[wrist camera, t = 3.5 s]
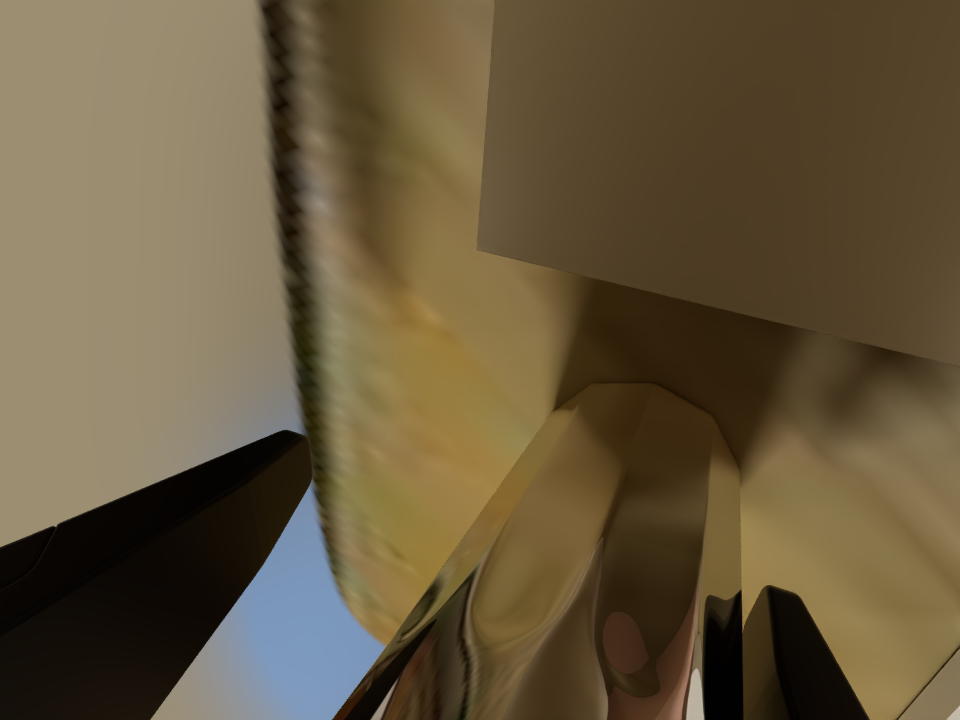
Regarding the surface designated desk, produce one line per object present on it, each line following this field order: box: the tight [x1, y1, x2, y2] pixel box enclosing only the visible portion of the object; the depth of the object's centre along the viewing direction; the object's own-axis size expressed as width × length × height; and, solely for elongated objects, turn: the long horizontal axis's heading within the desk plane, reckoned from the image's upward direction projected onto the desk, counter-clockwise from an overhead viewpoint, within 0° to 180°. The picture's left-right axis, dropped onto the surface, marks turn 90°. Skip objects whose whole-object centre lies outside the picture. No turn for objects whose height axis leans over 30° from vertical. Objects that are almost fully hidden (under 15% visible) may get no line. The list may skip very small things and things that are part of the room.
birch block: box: [477, 0, 960, 366], centre depth 5 cm, size 4×4×4 cm
